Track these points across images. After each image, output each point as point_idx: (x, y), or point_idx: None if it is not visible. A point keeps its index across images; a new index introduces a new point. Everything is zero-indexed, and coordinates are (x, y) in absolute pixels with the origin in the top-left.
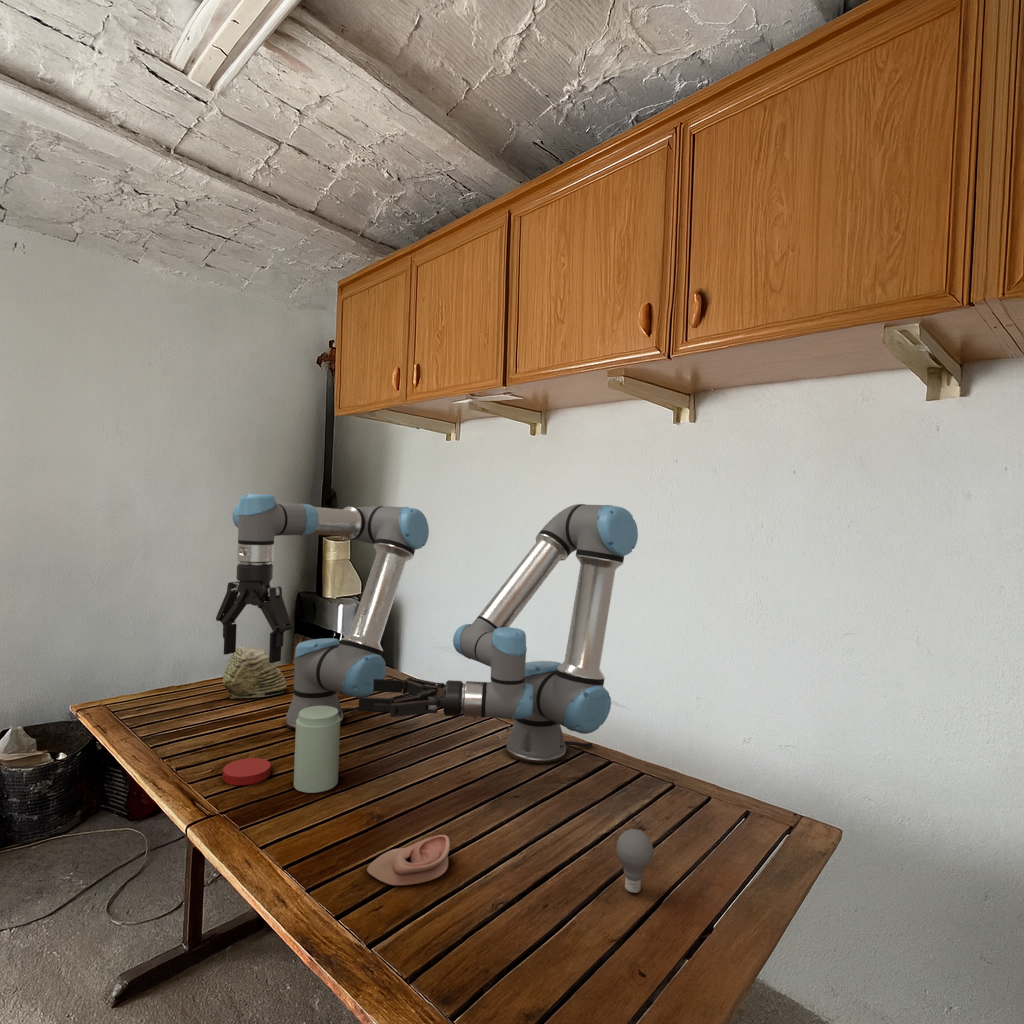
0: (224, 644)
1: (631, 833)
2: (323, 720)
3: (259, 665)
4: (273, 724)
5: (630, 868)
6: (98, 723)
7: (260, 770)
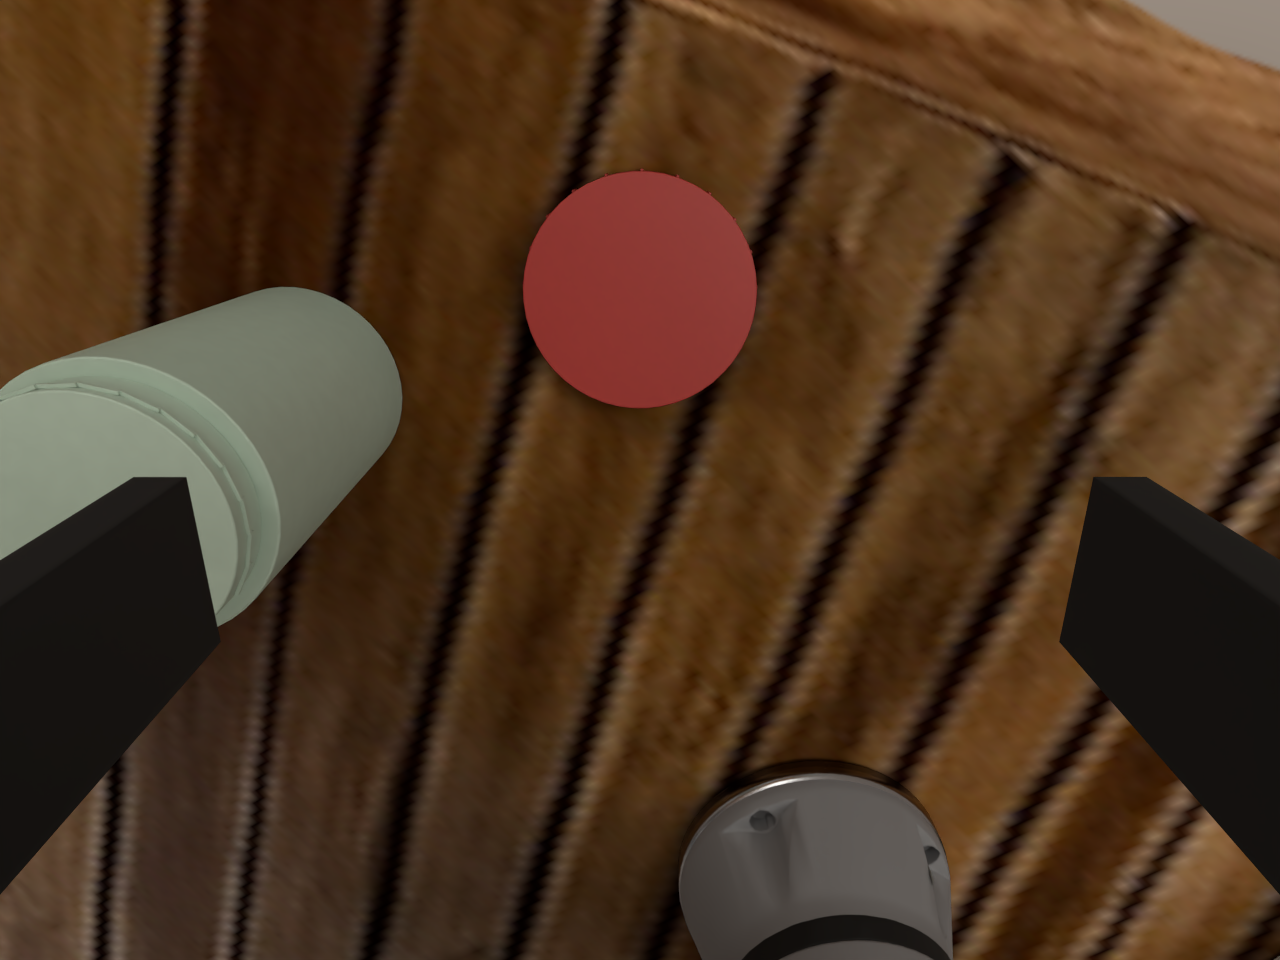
0: (1238, 542)
1: None
2: None
3: None
4: (968, 772)
5: None
6: None
7: (547, 297)
